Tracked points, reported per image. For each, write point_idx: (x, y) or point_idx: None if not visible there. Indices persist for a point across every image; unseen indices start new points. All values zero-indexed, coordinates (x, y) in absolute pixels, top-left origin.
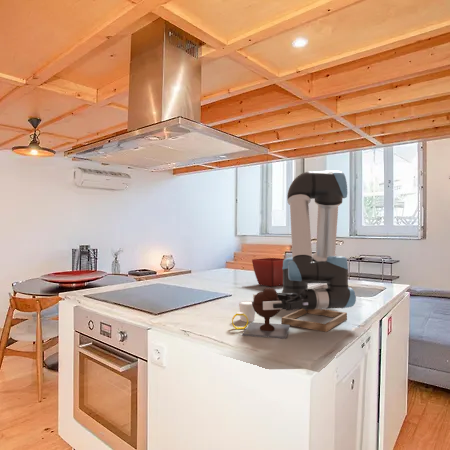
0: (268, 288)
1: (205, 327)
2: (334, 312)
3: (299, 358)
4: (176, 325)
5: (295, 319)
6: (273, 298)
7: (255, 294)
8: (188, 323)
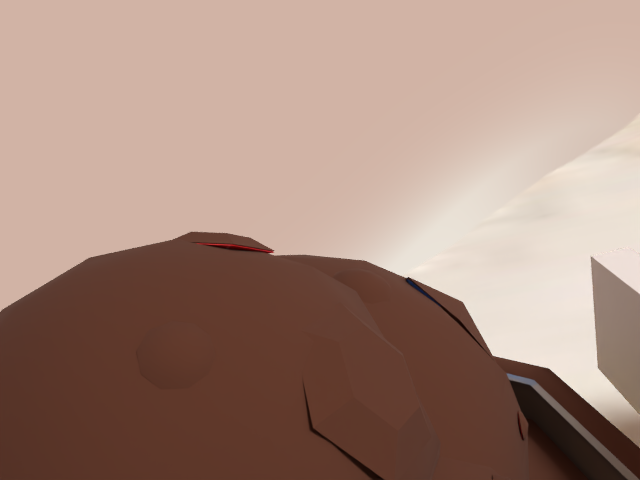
0: (73, 268)
1: (481, 305)
2: None
3: None
4: (500, 221)
5: None
6: None
7: (628, 269)
8: (552, 238)
